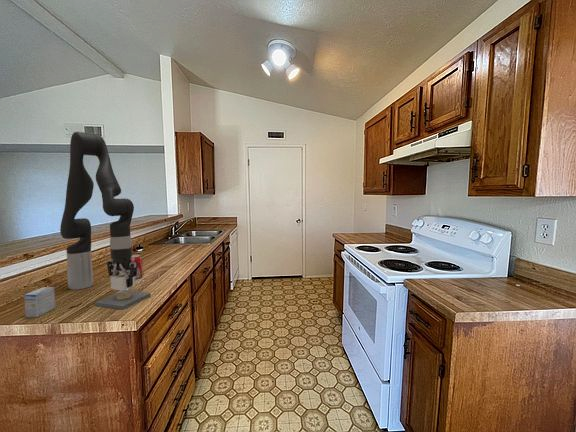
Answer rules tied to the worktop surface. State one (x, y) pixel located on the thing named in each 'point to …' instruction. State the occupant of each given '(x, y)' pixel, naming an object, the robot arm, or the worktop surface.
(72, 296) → the worktop surface
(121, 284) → the collar
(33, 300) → the medicine box
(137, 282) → the scissors
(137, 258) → the soda can
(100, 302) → the post base
